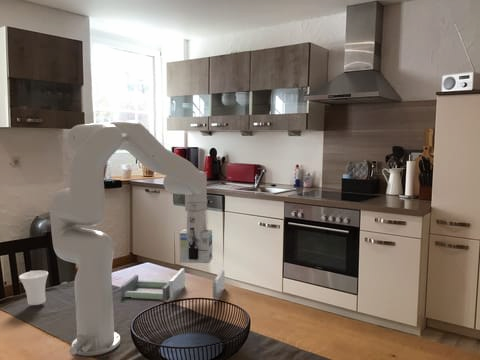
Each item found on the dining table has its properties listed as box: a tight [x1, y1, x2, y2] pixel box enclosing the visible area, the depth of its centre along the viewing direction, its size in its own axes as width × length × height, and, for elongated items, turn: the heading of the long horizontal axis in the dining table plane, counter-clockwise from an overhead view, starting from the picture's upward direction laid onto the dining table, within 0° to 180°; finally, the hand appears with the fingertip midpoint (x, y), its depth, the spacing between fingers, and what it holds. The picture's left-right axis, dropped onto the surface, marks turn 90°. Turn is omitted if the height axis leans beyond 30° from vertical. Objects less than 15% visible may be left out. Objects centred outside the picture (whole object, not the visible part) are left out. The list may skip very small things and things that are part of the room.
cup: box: [18, 270, 49, 306], centre depth 144 cm, size 9×9×10 cm
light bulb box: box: [179, 228, 213, 264], centre depth 151 cm, size 11×7×11 cm, turn 84°
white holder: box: [168, 268, 226, 302], centre depth 153 cm, size 14×16×7 cm
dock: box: [120, 274, 170, 300], centre depth 156 cm, size 12×16×4 cm
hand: (196, 256), depth 151 cm, fingers closed on light bulb box, 7 cm apart
